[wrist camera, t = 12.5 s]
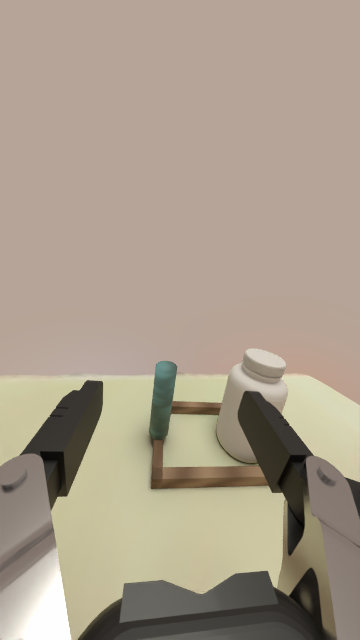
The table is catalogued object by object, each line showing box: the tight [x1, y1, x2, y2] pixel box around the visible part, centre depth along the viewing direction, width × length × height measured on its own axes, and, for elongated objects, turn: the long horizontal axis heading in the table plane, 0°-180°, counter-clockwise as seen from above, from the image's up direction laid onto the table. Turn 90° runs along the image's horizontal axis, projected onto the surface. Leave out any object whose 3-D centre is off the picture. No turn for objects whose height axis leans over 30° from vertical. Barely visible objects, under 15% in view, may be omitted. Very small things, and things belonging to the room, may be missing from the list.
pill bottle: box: [216, 349, 288, 463], centre depth 26 cm, size 8×8×15 cm
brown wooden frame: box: [149, 361, 268, 489], centre depth 25 cm, size 20×12×13 cm, turn 96°
